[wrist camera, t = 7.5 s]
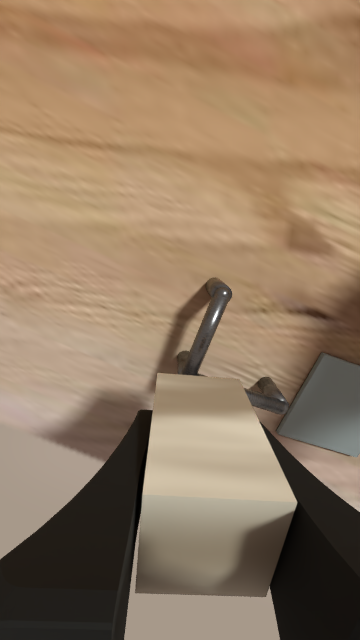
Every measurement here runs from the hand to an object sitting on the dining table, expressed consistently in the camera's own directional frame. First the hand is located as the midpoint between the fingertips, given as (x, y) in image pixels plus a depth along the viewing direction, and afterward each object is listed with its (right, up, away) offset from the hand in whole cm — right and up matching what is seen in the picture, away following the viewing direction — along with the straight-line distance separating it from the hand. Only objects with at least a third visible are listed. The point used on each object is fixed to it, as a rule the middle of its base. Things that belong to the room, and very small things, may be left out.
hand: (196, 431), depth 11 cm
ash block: (0, +1, +1) cm, 1 cm away
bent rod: (+4, +4, +8) cm, 9 cm away
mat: (+13, -2, +10) cm, 16 cm away
